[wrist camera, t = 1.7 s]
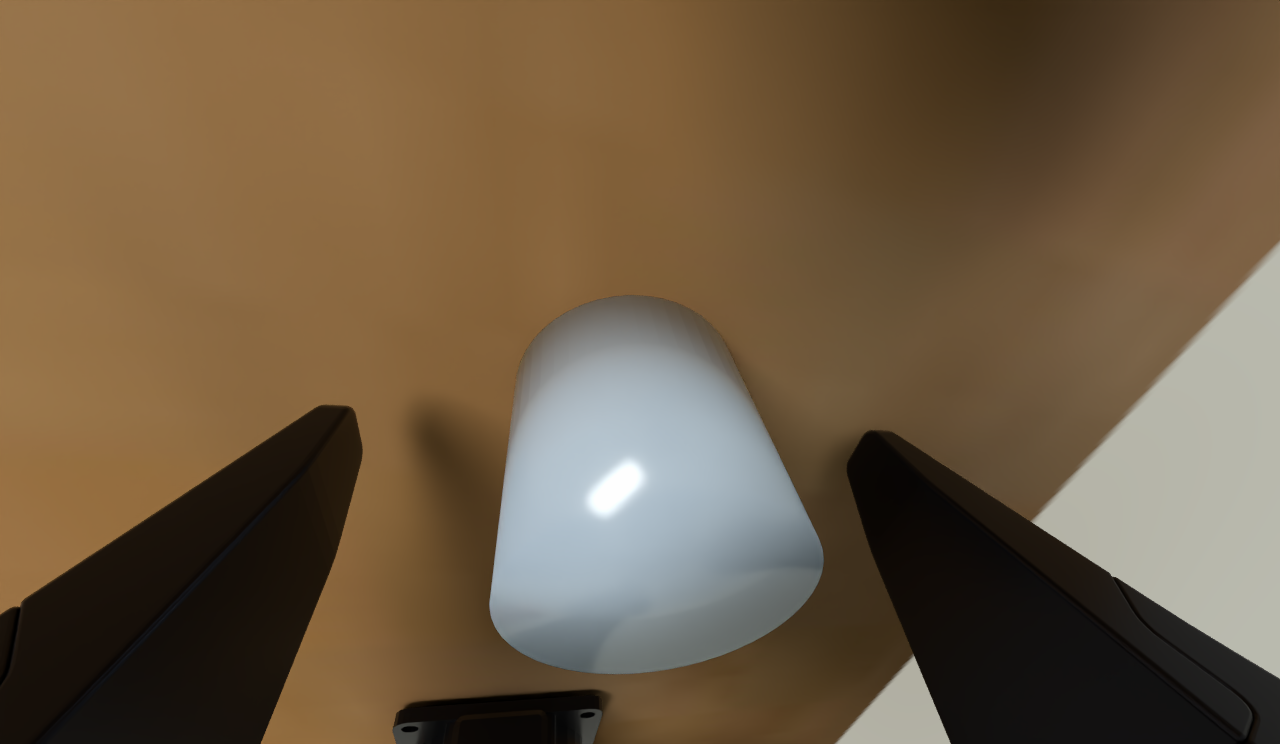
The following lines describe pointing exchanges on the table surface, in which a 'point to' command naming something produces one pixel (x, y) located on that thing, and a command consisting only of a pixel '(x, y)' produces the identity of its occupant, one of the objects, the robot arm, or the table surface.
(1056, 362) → the table surface
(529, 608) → the pale blue rounded blob
